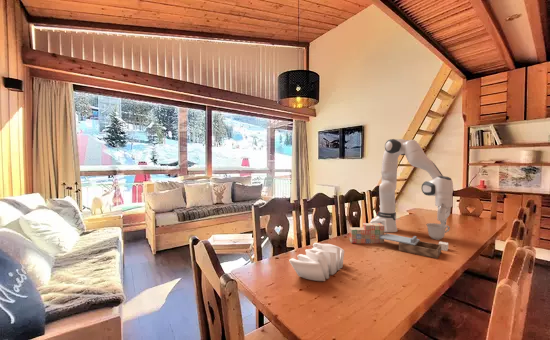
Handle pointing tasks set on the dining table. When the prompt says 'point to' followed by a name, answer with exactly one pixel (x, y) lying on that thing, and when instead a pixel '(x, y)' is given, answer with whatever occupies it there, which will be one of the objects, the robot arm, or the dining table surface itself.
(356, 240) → the stack of blocks
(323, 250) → the wavy white extrusion
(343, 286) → the dining table surface
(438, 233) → the teacup
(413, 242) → the lid
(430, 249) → the box
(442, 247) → the cube
